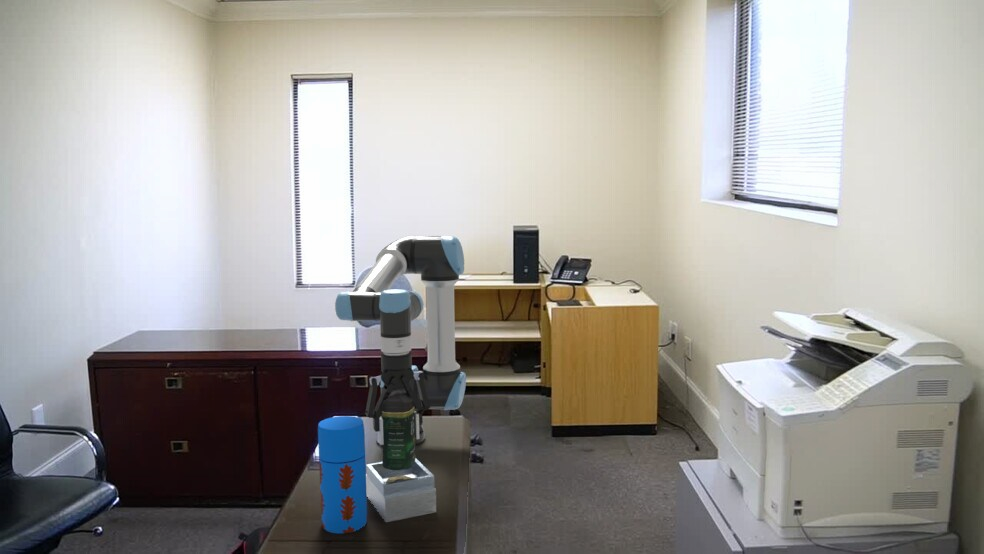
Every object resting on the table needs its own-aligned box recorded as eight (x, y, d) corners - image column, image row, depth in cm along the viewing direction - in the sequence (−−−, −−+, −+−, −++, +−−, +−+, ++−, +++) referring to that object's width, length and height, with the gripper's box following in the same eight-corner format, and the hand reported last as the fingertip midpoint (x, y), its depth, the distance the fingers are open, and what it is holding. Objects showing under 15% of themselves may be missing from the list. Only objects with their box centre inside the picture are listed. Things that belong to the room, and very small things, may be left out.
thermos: (326, 537, 176) (322, 432, 173) (317, 518, 186) (313, 419, 183) (372, 528, 181) (369, 426, 177) (361, 510, 190) (358, 413, 187)
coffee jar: (411, 472, 188) (409, 399, 185) (379, 471, 188) (377, 398, 186) (418, 458, 197) (416, 388, 195) (388, 457, 198) (386, 387, 196)
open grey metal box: (413, 487, 204) (412, 455, 203) (436, 512, 189) (435, 477, 188) (366, 496, 199) (365, 463, 198) (385, 522, 184) (384, 486, 183)
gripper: (357, 359, 181) (360, 451, 184) (442, 350, 190) (443, 438, 193) (349, 353, 188) (352, 442, 191) (431, 345, 197) (433, 430, 200)
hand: (398, 440), depth 192 cm, fingers closed on coffee jar, 9 cm apart
